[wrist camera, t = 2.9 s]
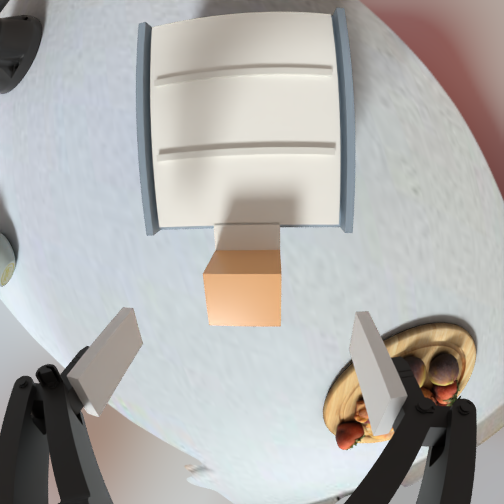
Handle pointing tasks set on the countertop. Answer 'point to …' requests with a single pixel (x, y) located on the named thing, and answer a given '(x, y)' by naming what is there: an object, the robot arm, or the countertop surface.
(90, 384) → the robot arm
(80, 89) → the countertop surface
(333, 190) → the lid
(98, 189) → the countertop surface
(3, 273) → the air freshener
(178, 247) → the countertop surface
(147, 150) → the tub
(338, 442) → the wooden plate with food
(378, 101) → the countertop surface
